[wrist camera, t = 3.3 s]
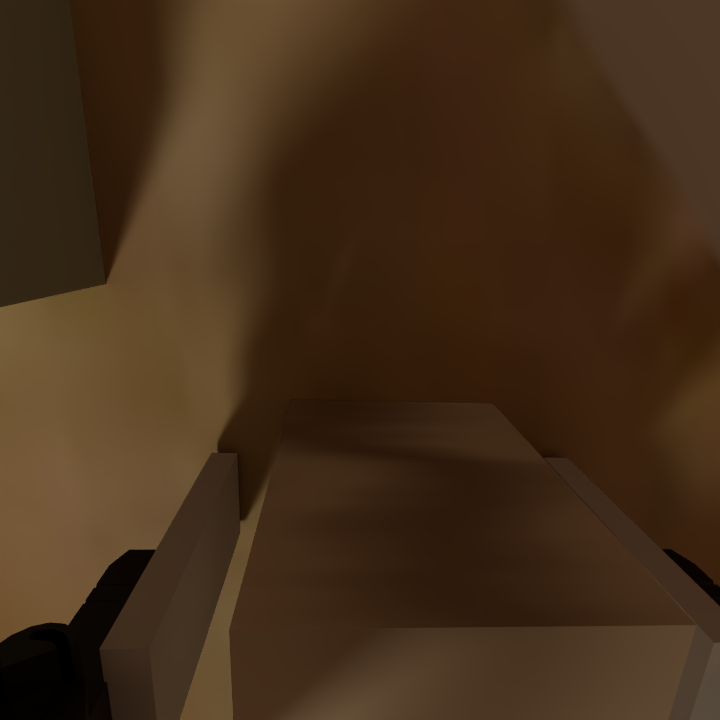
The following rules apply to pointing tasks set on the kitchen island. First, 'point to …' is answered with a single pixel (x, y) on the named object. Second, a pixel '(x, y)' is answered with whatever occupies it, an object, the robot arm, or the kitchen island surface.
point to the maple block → (441, 580)
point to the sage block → (44, 158)
